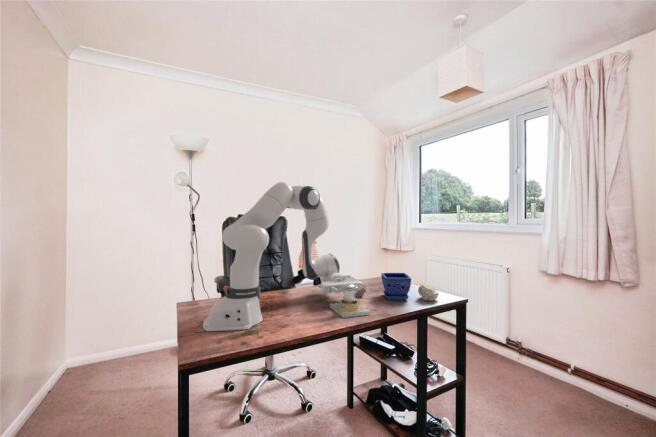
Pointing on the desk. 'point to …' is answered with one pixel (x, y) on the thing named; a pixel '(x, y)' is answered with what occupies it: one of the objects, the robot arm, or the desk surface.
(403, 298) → the flower pot
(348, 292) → the salt shaker
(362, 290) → the purple stone
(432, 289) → the fossil replica
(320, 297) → the desk surface
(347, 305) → the gold ring on slab
